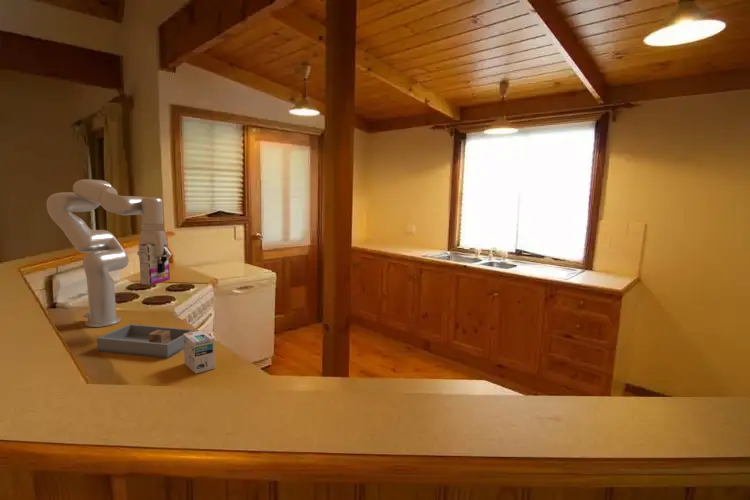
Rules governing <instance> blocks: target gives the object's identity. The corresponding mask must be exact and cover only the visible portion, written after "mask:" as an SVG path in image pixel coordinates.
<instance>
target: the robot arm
mask: <svg viewBox="0 0 750 500" xmlns="http://www.w3.org/2000/svg"><path fill="white" fill-rule="evenodd" d="M72 191H73V192H71V191H69V192H67V191H66V192H64V191H63V192H56V193H53V194H51V195H49V196H48V198H47V200H46V210H47V212H48V215H49V217H50V218H51V220H52V221H53V222H54V223H55V224H56V226H58V227H59V228H60V229H61V230H62V231H63V233H64V235H65V237H67V239H68V240H69V243H71V244H72V246H73V247H74V248H75V249H76V251H77V252H79V253H81V254H86V255H85V256H84V258H83V259H82V267H83V271H84V272H85V273H84V274H85V277H86V278H85V279H86V285H87V286H86V287H87V295H88V296H87V297H88V299H87V300H88V311H86V312H85V313H84V314H83V315H82V317H83V318H85V319H87V320H86V321H85V326H86V327H89V328H100V327H101V328H102V327H109V326H114V325H116V324H118V323H120V321H121V320H122V319H121V317H120V316H117V309H116V306H117V305H116V291H115V282H114V281H115V280H114V278H113V277H112V276H111V275H110V272H116V271H119V270H120V271H121V270H123V269H125V268H127V266H128V264H129V255H128V253H127V252H126V250H125V249H124V247H123V246H122V245H121V243H120V242H119V241H118V239H117V238H116V236H115V235H114V234H113V233H112V232H111V231H108V230H106V229H95V230H94V229H91V228H90V227H89V226H88V225H87V224H86V221H84V220H83V219H82V218H81V217H79V216H78V215H76V214H74V213H82V212H83V213H86V212H92V211H94V210H95V209H97V208H99V207H100V206H101V207H102V208H103V209H104V210H105V211H107V212H109V213H113V214H116V215H119V216H141V225H140V228H141V229H142V231H140V233H139V238H138V239H139V240H138V245H140V244H154V255H155V257H157V258H158V261H159V263H158V273H162V272H165V262H166V261H167V260H168V258H171V257H172V255H173V254H172V253H171V252H170V251H169V244H167V242H168V237H167V234H166V231H164V230H165V228H164V227H165V225H164V206H163V205H164V204H163V200H162V198H160V197H148V196H139V195H138V196H137V195H120V194H119V193H118V191H117V189H116V188H114V187H113V185H112V184H110V182H108V181H106V180H103V179H88V178H85V179H84V178H83V179H80V180H76V181H75V183H74V184H73V186H72ZM136 255H137V256H139V250H138V251H137V252H136ZM164 255H166V256H164ZM161 258H162V259H161Z"/></svg>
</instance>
